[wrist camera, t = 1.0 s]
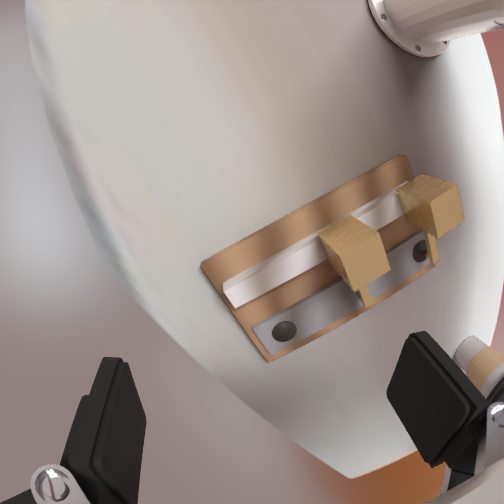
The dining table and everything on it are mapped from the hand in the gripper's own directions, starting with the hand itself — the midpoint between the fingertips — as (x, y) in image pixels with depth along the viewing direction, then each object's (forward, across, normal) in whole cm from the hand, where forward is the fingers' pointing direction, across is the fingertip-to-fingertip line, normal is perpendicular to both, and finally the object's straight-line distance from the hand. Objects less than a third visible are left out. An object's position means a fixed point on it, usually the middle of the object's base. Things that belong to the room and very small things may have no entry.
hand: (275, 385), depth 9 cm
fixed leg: (+22, -21, +1) cm, 30 cm away
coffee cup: (+24, -44, +26) cm, 57 cm away
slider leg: (+22, -13, +6) cm, 26 cm away
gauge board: (+24, -12, +7) cm, 28 cm away
